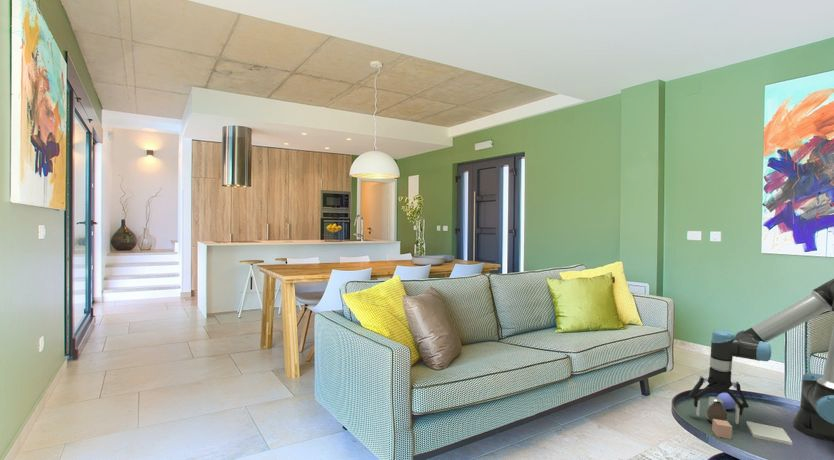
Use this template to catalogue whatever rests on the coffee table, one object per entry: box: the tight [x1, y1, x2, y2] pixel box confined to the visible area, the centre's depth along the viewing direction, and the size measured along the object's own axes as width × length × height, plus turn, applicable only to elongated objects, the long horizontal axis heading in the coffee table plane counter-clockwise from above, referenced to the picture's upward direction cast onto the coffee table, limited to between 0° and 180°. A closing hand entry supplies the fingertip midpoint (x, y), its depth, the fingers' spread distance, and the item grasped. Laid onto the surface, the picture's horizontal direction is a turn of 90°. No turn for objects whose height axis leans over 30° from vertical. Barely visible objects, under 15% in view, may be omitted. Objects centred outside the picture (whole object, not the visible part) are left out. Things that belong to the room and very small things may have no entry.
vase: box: [706, 401, 728, 423], centre depth 183 cm, size 7×7×9 cm
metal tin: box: [707, 396, 723, 409], centre depth 193 cm, size 5×5×6 cm
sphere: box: [716, 392, 737, 410], centre depth 197 cm, size 7×7×7 cm
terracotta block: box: [711, 419, 733, 440], centre depth 174 cm, size 5×5×5 cm
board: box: [745, 420, 793, 446], centre depth 175 cm, size 12×12×1 cm
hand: (716, 418), depth 184 cm, fingers open, 13 cm apart
